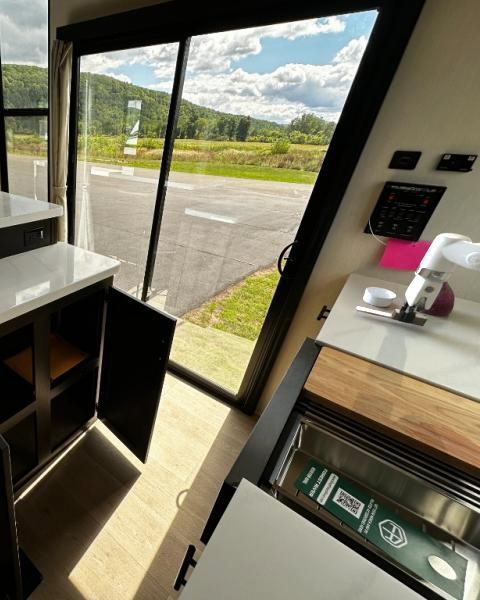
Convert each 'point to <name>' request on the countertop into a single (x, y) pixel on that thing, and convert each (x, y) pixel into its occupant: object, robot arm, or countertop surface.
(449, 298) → the vegetable
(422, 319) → the knife
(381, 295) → the ramekin
